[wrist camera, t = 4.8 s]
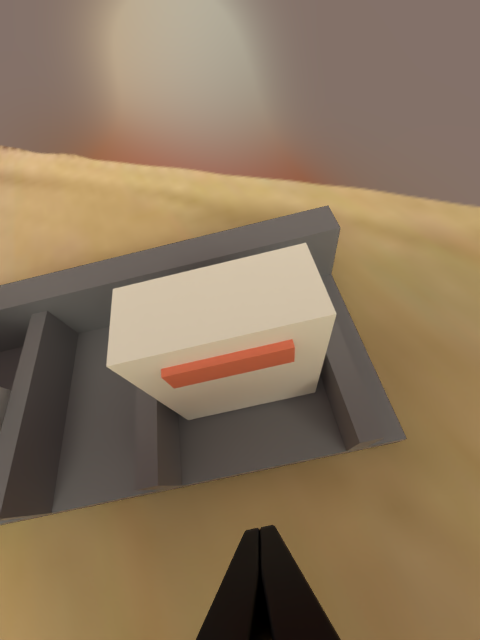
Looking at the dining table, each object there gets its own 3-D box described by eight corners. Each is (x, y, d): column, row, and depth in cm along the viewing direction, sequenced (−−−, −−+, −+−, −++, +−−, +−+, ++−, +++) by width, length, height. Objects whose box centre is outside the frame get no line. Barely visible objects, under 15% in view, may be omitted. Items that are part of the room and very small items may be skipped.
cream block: (317, 397, 15) (340, 322, 8) (188, 425, 15) (105, 376, 8) (299, 343, 17) (306, 242, 10) (184, 368, 17) (113, 289, 10)
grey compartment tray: (399, 441, 14) (446, 422, 10) (-145, 555, 15) (-310, 581, 11) (318, 257, 21) (325, 200, 17) (-55, 346, 22) (-136, 313, 18)
